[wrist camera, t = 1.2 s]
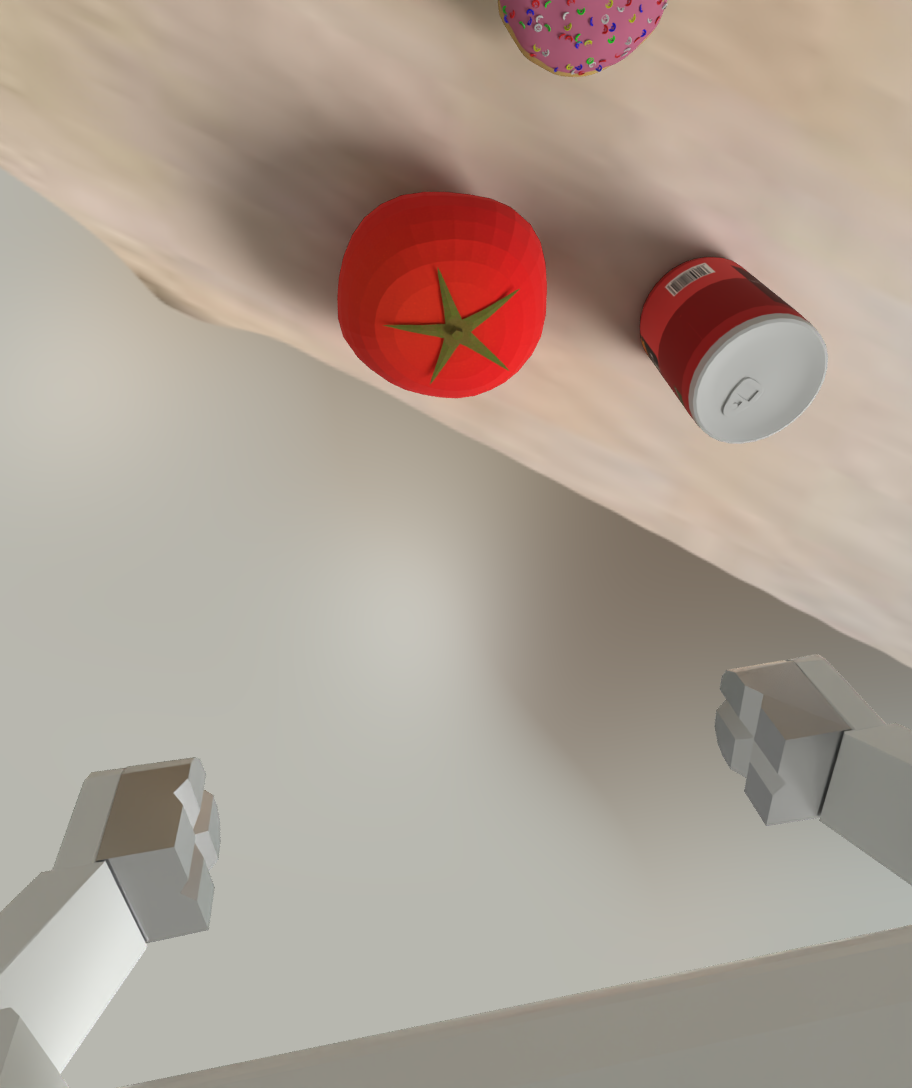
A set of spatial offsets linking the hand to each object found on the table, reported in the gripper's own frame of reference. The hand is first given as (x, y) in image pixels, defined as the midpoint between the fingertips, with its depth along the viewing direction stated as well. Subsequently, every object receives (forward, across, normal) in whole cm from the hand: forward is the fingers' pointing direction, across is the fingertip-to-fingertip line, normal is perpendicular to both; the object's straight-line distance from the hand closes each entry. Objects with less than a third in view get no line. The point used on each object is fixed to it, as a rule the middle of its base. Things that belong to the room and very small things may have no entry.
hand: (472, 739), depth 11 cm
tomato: (+41, -5, +1) cm, 41 cm away
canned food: (+40, -22, +5) cm, 46 cm away
